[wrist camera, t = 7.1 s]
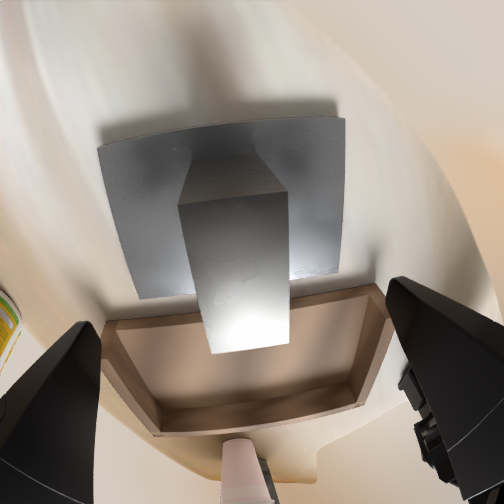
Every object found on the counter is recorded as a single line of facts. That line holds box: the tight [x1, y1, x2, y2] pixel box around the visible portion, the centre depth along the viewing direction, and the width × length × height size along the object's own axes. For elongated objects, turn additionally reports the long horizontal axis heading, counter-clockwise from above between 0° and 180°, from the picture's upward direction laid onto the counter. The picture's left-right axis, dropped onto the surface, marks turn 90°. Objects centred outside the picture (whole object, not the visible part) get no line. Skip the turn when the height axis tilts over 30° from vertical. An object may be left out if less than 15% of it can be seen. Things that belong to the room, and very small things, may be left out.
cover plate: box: [97, 117, 345, 354], centre depth 12 cm, size 12×9×7 cm
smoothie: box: [220, 438, 275, 504], centre depth 24 cm, size 6×6×14 cm
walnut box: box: [100, 283, 395, 437], centre depth 20 cm, size 19×12×4 cm, turn 95°
